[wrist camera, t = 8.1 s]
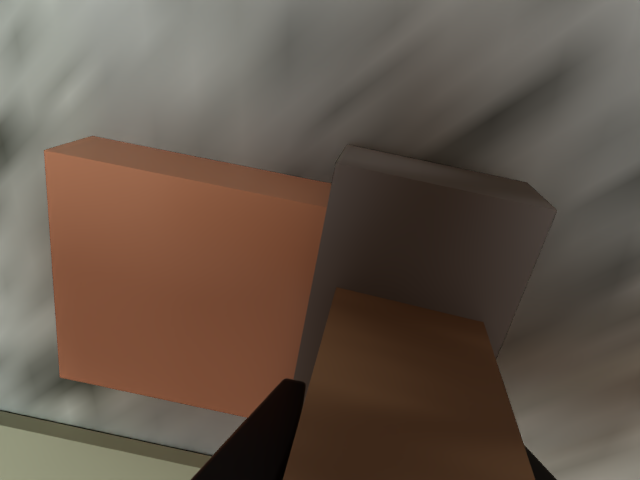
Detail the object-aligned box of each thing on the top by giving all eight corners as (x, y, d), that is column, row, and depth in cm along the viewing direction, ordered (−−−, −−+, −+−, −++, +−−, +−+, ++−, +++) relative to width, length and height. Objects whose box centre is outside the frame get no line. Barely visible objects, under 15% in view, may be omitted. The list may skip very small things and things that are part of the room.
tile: (335, 181, 11) (329, 208, 9) (297, 374, 13) (286, 426, 11) (98, 133, 11) (43, 150, 9) (102, 332, 13) (59, 377, 12)
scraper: (527, 182, 10) (932, 556, 2) (427, 449, 13) (467, 969, 5) (347, 144, 10) (206, 367, 3) (292, 413, 13) (158, 857, 6)
